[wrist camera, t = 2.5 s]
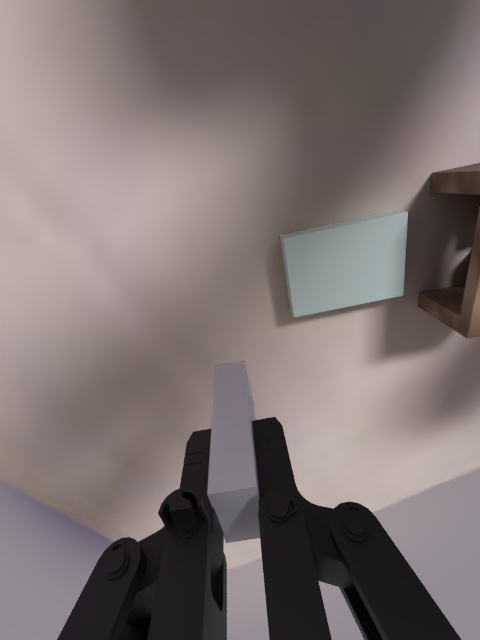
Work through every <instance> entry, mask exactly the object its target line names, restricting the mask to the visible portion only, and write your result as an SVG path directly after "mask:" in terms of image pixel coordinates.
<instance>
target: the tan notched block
mask: <svg viewBox="0 0 480 640" xmlns="http://www.w3.org/2000/svg"><path fill="white" fill-rule="evenodd" d="M430 192H432V193H452V194H472V195H480V163H478V164H473V165H468V166H464V167H459V168H454V169H449V170H444V171H439V172H435V173H432V180H431V189H430ZM418 307H420V308H421V309H423V310H424V311H426V312H428V313H429V314H431V315H432V316H434V317H435V318H437V319H438V320H440V321H441V322H443V323H444V324H446V325H448V326H449V327H451V328H452V329H454V330H455V331H457V332H458V333H460V334H461V335H463V336H464V337H466V338H472V337H477V336H480V208H479V213H478V219H477V224H476V230H475V235H474V241H473V246H472V252H471V257H470V263H469V269H468V274H467V280H466V284H465V285H460V286H454V287H449V288H444V289H438V290H433V291H428V292H422V293H420V294H419V304H418Z"/></svg>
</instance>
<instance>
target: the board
mask: <svg viewBox="0 0 480 640" xmlns="http://www.w3.org/2000/svg"><path fill="white" fill-rule="evenodd" d="M407 220H408V212H407V211H401V210H391V211H387V212H382V213H378V214H373V215H369V216H364V217H360V218H355V219H351V220H346V221H342V222H337V223H332V224H328V225H323V226H319V227H314V228H310V229H305V230H301V231H296V232H292V233H287V234H283V235H280V242H281V249H282V256H283V263H284V270H285V277H286V284H287V291H288V298H289V305H290V310H291V312H292V315H293V317H294V318H295V317H300V316H305V315H310V314H315V313H320V312H324V311H329V310H334V309H339V308H344V307H349V306H354V305H359V304H364V303H369V302H374V301H379V300H384V299H389V298H394V297H399V296H403V292H404V274H405V256H406V238H407Z"/></svg>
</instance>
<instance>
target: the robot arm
mask: <svg viewBox="0 0 480 640" xmlns="http://www.w3.org/2000/svg"><path fill="white" fill-rule="evenodd" d="M158 514H159V516H160V518H161V519H162V521H163V523H164V525H165V526H164V527H163V528H162V529H160V530H159V531H157V532H156V533H154V534H152V535H150V536H148V537H146V538H145V539H143V540H141V541H139V542H137V541H136V540H135V539H132V538H130V537H128V538H121V539H119V540H117V541H115V542H114V543H112V544H111V545H110V546H109V547H108V548H107V549H106V550H105V551H104V553H103V554H102V556H101V557H100V559H99V560H98V562H97V564H96V566H95V568H94V570H93V572H92V573H91V576H90V577H89V579H88V581H87V583H86V585H85V587H84V589H83V591H82V593H81V595H80V597H79V599H78V601H77V602H76V604H75V607H74V608H73V610H72V612H71V614H70V616H69V618H68V620H67V622H66V624H65V626H64V627H63V630H62V631H61V633H60V635H59V637H58V639H57V640H227V588H226V587H227V564H226V558H225V555H224V552H223V537H224V538H225V541H226V543H229V542H235V541H242V540H248V539H255V538H260V540H261V551H262V562H263V572H264V583H265V594H266V604H267V615H268V627H269V638H270V640H332V639H331V635H330V631H329V626H328V622H327V617H326V613H325V609H324V604H323V600H322V595H321V591H320V586H319V582H318V581H321V582H324V583H328V584H331V585H335V586H338V587H340V590H341V592H342V594H343V596H344V598H345V600H346V602H347V604H348V606H349V608H350V610H351V612H352V615H353V617H354V619H355V621H356V623H357V625H358V627H359V629H360V631H361V633H362V636H363V638H364V640H461V639H460V637H459V636H458V634H457V633H456V632H455V630H454V628H453V627H452V626H451V624H450V623H449V621H448V620H447V618H446V617H445V616H444V614H443V613H442V611H441V610H440V608H439V607H438V606H437V604H436V603H435V601H434V600H433V599H432V597H431V595H430V594H429V593H428V591H427V590H426V588H425V587H424V586H423V584H422V583H421V581H420V580H419V579H418V577H417V575H416V574H415V573H414V571H413V570H412V568H411V567H410V565H409V564H408V563H407V561H406V560H405V558H404V557H403V555H402V554H401V552H400V551H399V550H398V548H397V547H396V545H395V544H394V542H393V541H392V540H391V538H390V537H389V535H388V534H387V532H386V531H385V530H384V528H383V527H382V525H381V524H380V522H379V521H378V520H377V518H376V517H375V516H374V515H373V513H372V512H371V511H370V510H369V509H368V508H366V507H364V506H362V505H361V504H359V503H354V502H345V503H341V504H339V505H338V506H337V507H335V508H334V509H332V508H327V507H322V506H318V505H315V504H312V503H310V502H309V501H307V500H306V499H305V498H304V497H303V496H302V495H301V494H300V493H299V491H298V490H297V487H296V484H295V480H294V475H293V471H292V467H291V462H290V458H289V453H288V449H287V445H286V440H285V436H284V432H283V427H282V425H281V424H280V422H279V421H278V420H277V419H276V417H272V418H266V419H260V420H255V412H254V403H253V398H252V393H251V389H250V384H249V380H248V375H247V371H246V366H245V362H244V361H241V362H235V363H230V364H224V365H219V366H215V381H214V397H213V412H212V428H211V429H207V430H201V431H195V432H193V433H192V435H191V437H190V438H189V440H188V442H187V445H186V452H185V458H184V467H183V471H182V477H181V484H180V489H178V490H175V491H174V492H172V493H171V494H170V495H168V496H167V497H166V499H165V500H164V501H163V503H162V504H161V507H160V509H159V512H158Z"/></svg>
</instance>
